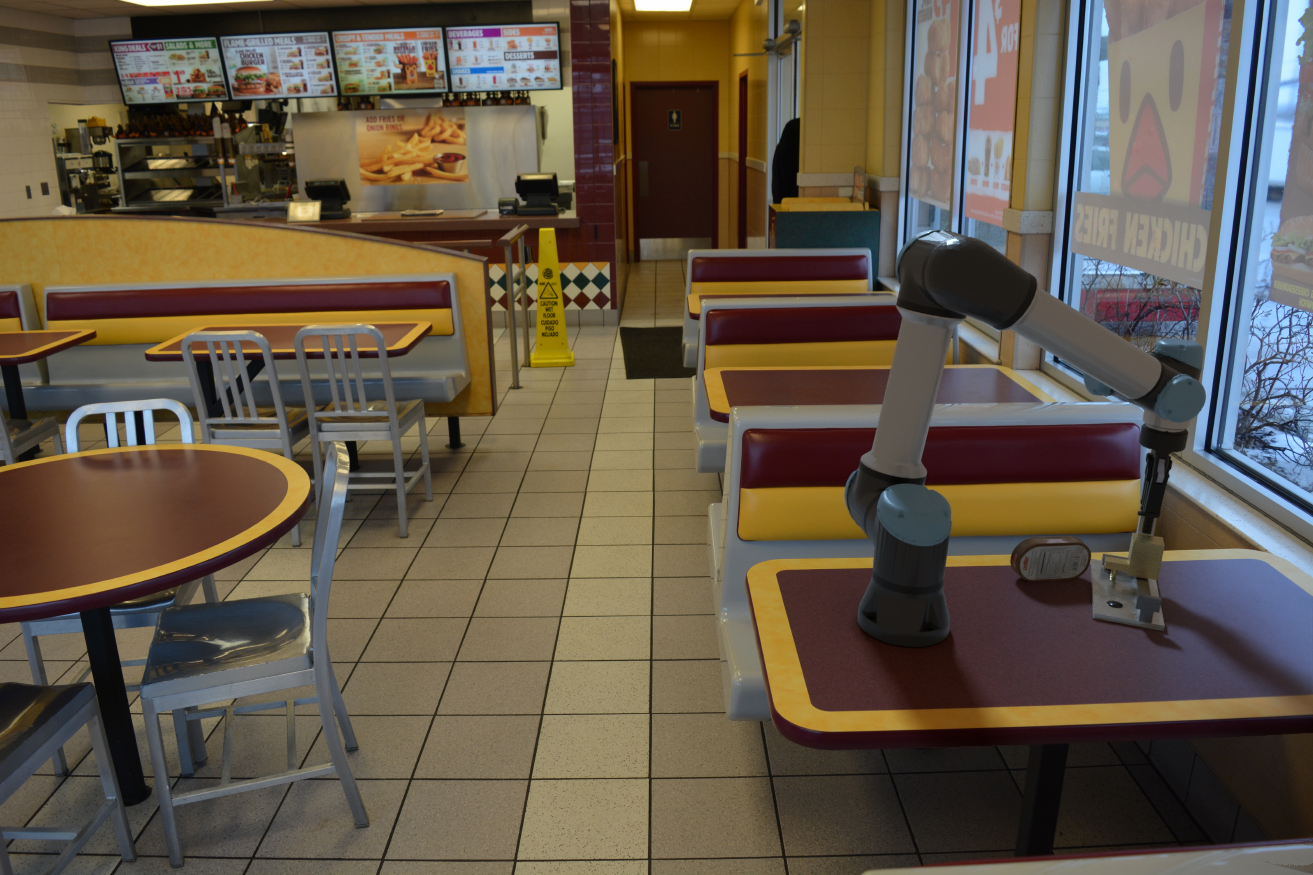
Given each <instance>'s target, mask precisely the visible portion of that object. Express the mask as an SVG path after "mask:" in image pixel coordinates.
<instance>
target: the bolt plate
mask: <svg viewBox="0 0 1313 875" xmlns="http://www.w3.org/2000/svg"><path fill="white" fill-rule="evenodd" d="M1111 571H1112V569H1106V568H1105V566H1104V565H1102V559H1094V558H1091V561H1090V582H1091V602H1092V603H1091V604H1092V605H1091V606H1092V619H1095V620H1101V621H1106V622H1112V623H1116V624H1123V625H1128V626H1132V627H1133V626H1134V627H1138V628H1145V629H1151V630H1156V631H1162V632H1164V631H1165V626H1166V625H1165V622H1164V614H1163V611H1162V610H1163V609H1162V606H1160V611H1159V613H1157V612H1154V614H1153V619H1152V624H1151V623H1146V622H1140V621H1138V614H1137V609H1136V608H1135V605H1136V599H1135V592H1134V584H1133V577H1132V576H1129V575H1127V572H1124V571H1118V572H1117V577H1116V581H1112V580H1110V576H1111ZM1148 581H1149V587H1150V592H1151V596H1155V597H1160V594H1159V589H1158V588H1159V587H1158V583H1157V580H1153V579H1148Z"/></svg>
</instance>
